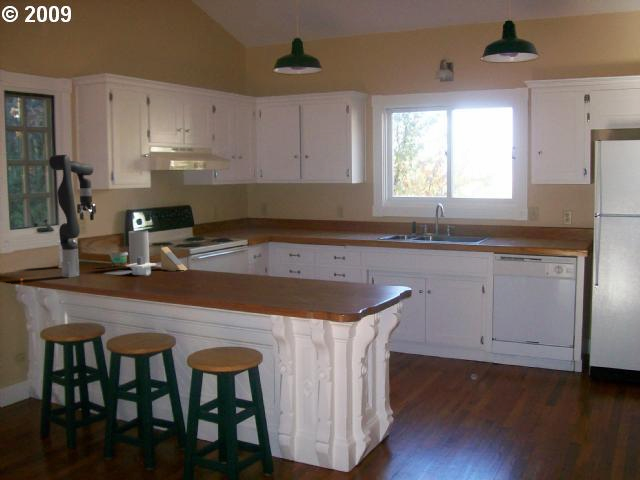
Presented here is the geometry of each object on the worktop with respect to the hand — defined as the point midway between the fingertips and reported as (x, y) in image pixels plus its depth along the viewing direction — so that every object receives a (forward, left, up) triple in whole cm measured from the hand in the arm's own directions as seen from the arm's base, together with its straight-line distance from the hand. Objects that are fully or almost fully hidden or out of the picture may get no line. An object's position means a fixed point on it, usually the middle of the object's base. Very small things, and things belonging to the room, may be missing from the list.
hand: (87, 219), depth 448 cm
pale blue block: (-2, -46, -33) cm, 57 cm away
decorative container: (+4, +24, -33) cm, 41 cm away
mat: (-3, -30, -33) cm, 45 cm away
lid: (-2, -46, -28) cm, 54 cm away
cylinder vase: (+16, -29, -33) cm, 47 cm away
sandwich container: (+22, -53, -34) cm, 67 cm away
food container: (+17, -10, -33) cm, 39 cm away
